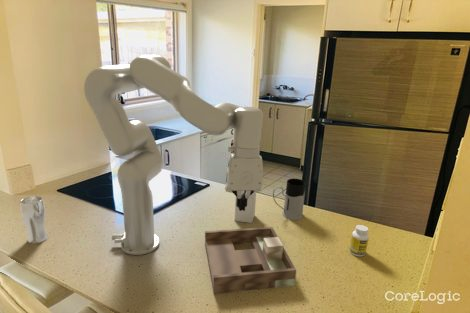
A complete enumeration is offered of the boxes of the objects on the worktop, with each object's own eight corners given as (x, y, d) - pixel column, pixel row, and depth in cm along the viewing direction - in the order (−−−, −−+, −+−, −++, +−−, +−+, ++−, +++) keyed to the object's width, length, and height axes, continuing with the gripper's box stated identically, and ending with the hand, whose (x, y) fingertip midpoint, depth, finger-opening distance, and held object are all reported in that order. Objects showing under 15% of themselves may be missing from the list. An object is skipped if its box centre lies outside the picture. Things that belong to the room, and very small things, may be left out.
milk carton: (252, 223, 129) (255, 179, 123) (234, 221, 131) (236, 177, 124) (254, 215, 136) (257, 172, 130) (237, 212, 137) (240, 170, 131)
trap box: (213, 293, 92) (214, 277, 90) (205, 245, 114) (205, 231, 112) (294, 285, 96) (296, 270, 95) (270, 240, 119) (272, 226, 117)
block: (266, 260, 103) (267, 246, 101) (262, 251, 108) (263, 238, 106) (281, 259, 104) (283, 245, 102) (276, 250, 109) (278, 237, 107)
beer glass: (54, 236, 115) (48, 198, 110) (35, 246, 109) (28, 206, 104) (40, 231, 118) (34, 193, 113) (21, 241, 112) (14, 201, 107)
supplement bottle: (357, 258, 110) (362, 233, 107) (345, 250, 115) (350, 225, 112) (368, 254, 113) (373, 229, 109) (356, 246, 117) (361, 222, 114)
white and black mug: (306, 218, 135) (311, 185, 130) (275, 222, 131) (278, 188, 126) (297, 209, 143) (300, 177, 138) (267, 212, 139) (269, 179, 134)
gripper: (222, 155, 88) (218, 215, 94) (275, 155, 91) (268, 214, 97) (218, 146, 95) (215, 203, 101) (267, 147, 98) (261, 202, 104)
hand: (241, 208), depth 99 cm, fingers closed
